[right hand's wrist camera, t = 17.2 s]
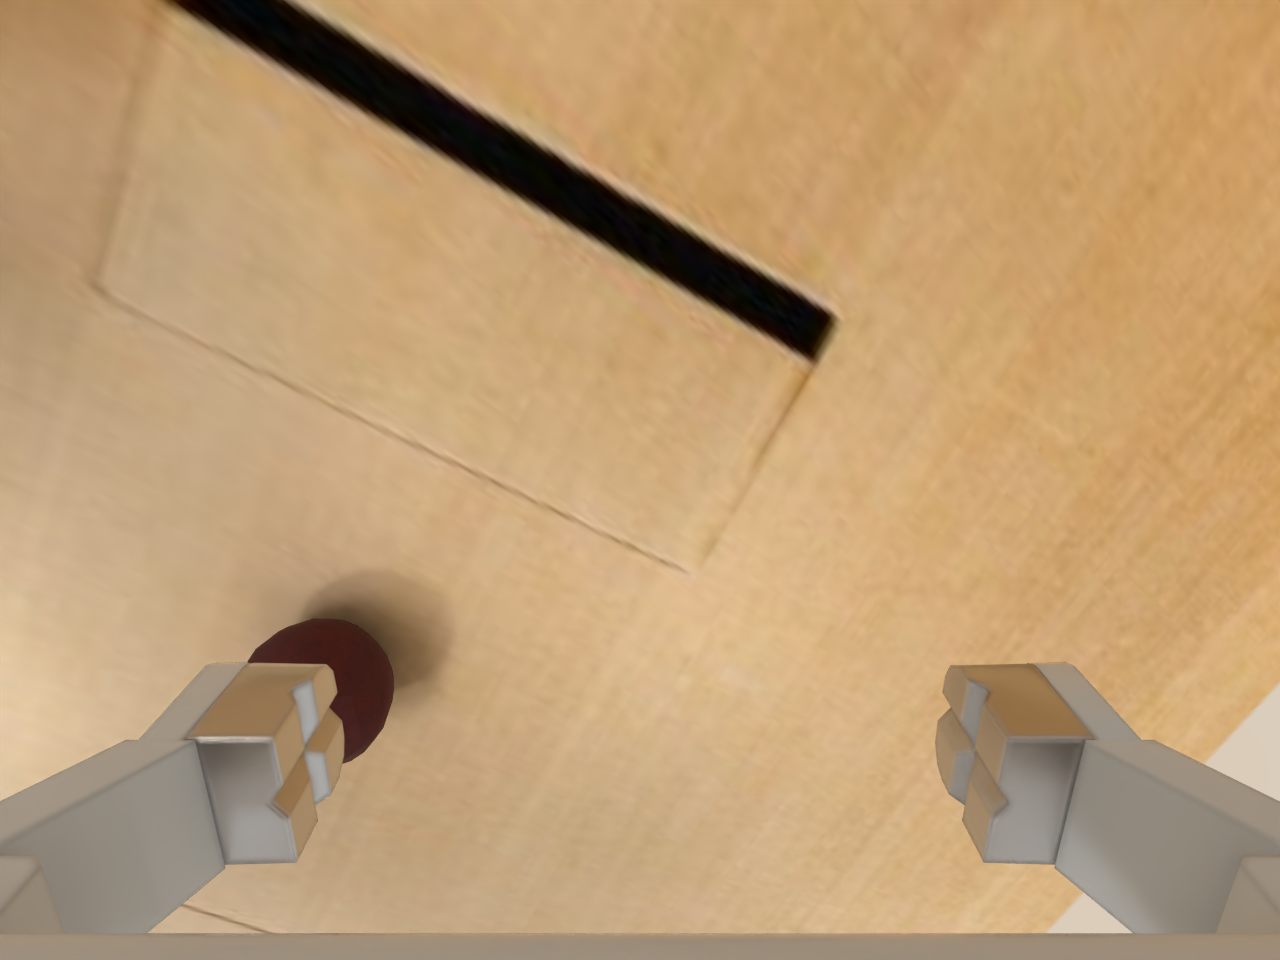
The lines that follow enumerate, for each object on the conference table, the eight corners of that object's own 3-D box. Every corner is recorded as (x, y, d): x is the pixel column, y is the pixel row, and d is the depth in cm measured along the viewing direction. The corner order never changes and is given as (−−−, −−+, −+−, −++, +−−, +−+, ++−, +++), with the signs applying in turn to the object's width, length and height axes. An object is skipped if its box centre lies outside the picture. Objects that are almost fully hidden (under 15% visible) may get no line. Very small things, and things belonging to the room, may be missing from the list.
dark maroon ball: (416, 708, 45) (378, 798, 39) (281, 710, 45) (220, 801, 39) (400, 594, 43) (356, 670, 36) (256, 597, 43) (187, 673, 36)
